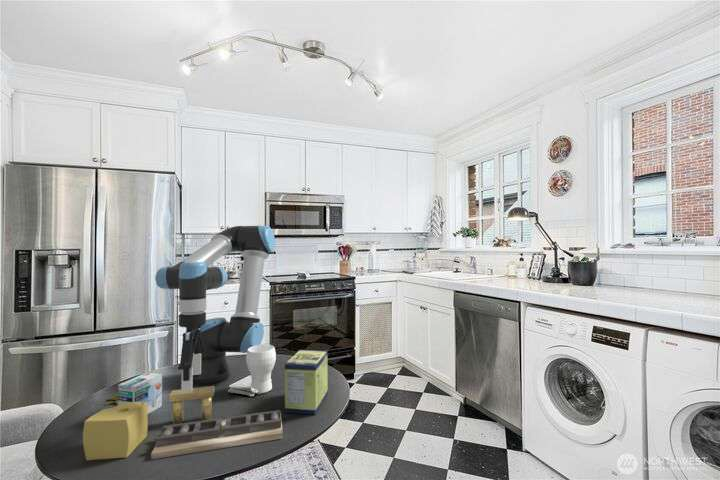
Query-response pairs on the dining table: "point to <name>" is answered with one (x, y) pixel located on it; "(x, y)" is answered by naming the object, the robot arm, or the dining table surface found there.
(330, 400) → the dining table surface
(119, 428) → the cheese
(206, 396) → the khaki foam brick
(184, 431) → the chain jig
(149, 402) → the light bulb box
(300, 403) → the protein box
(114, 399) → the red green plant
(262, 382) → the cup
